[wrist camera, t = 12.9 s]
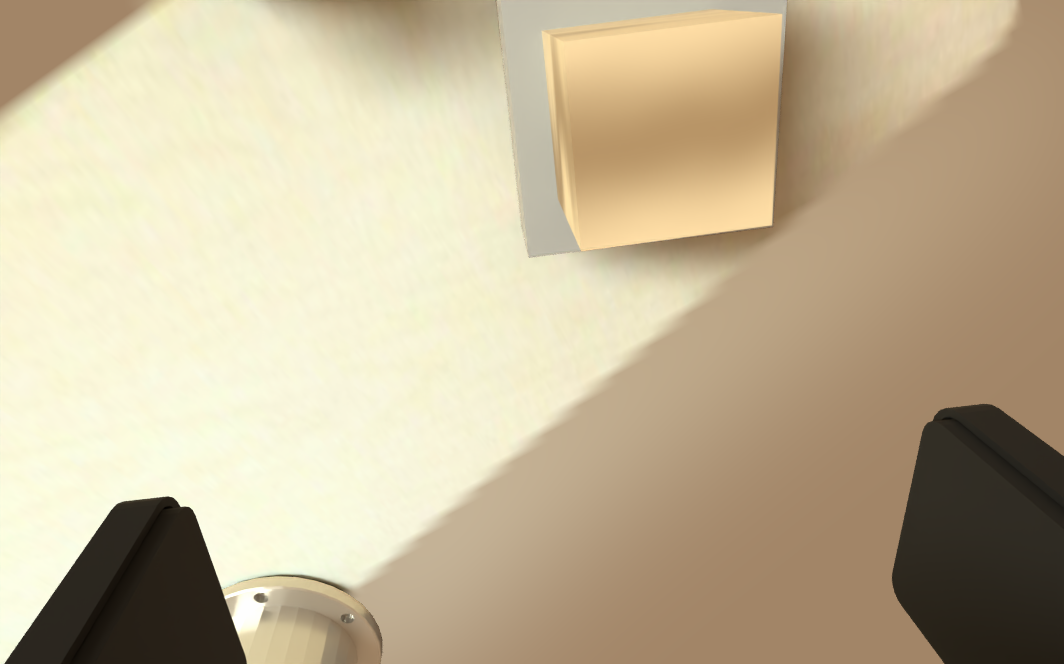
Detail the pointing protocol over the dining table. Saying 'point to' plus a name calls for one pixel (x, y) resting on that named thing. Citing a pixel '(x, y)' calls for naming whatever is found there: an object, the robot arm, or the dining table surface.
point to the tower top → (523, 15)
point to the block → (664, 124)
